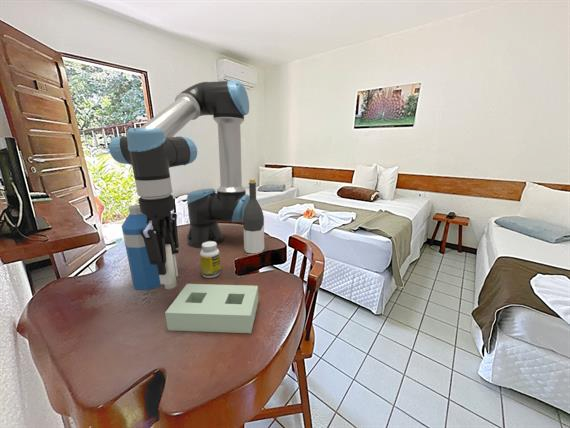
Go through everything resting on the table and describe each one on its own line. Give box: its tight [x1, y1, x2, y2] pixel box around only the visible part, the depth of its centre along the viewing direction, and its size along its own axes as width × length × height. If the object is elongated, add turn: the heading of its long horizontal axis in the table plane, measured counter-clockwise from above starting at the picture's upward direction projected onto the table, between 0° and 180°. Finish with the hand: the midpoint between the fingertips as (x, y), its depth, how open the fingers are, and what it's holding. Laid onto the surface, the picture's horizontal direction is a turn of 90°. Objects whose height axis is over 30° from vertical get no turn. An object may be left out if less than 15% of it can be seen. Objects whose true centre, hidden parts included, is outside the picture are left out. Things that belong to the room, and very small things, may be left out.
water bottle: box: [121, 204, 162, 291], centre depth 74 cm, size 9×9×25 cm
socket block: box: [164, 283, 259, 334], centre depth 63 cm, size 12×20×5 cm, turn 88°
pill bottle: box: [199, 241, 222, 279], centre depth 81 cm, size 6×6×11 cm
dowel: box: [163, 244, 178, 290], centre depth 65 cm, size 3×3×12 cm
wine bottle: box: [242, 178, 265, 255], centre depth 94 cm, size 8×8×30 cm
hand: (169, 279), depth 66 cm, fingers closed on dowel, 3 cm apart
